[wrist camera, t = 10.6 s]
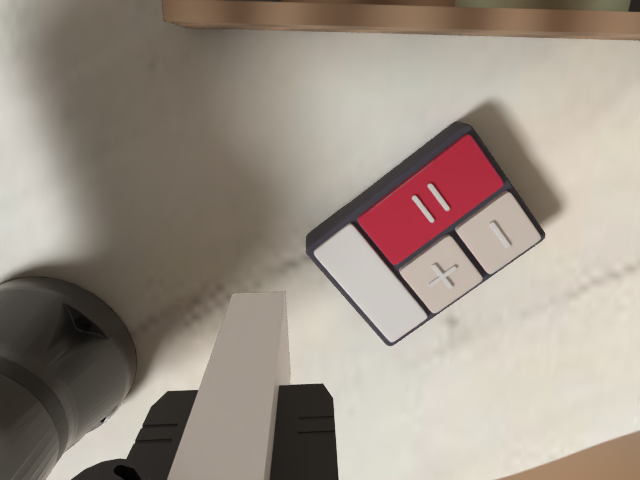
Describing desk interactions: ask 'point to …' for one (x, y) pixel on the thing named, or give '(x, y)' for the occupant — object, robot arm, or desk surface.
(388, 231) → the calculator
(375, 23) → the trap channel
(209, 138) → the desk surface
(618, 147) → the desk surface
